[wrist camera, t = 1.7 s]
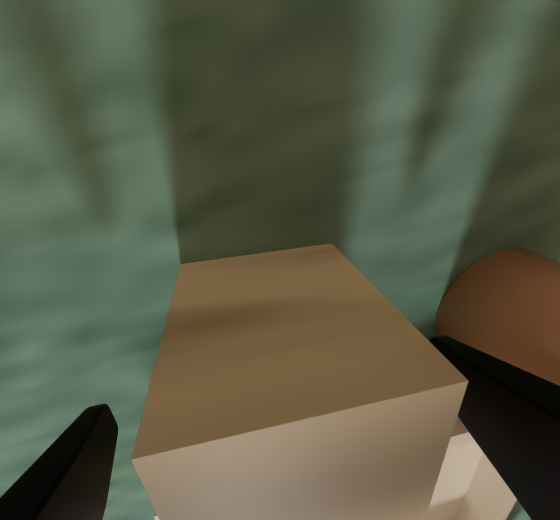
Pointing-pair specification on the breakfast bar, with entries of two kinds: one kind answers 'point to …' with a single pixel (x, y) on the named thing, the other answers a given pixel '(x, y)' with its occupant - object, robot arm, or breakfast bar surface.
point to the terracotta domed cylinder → (508, 310)
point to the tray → (467, 484)
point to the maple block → (292, 396)
